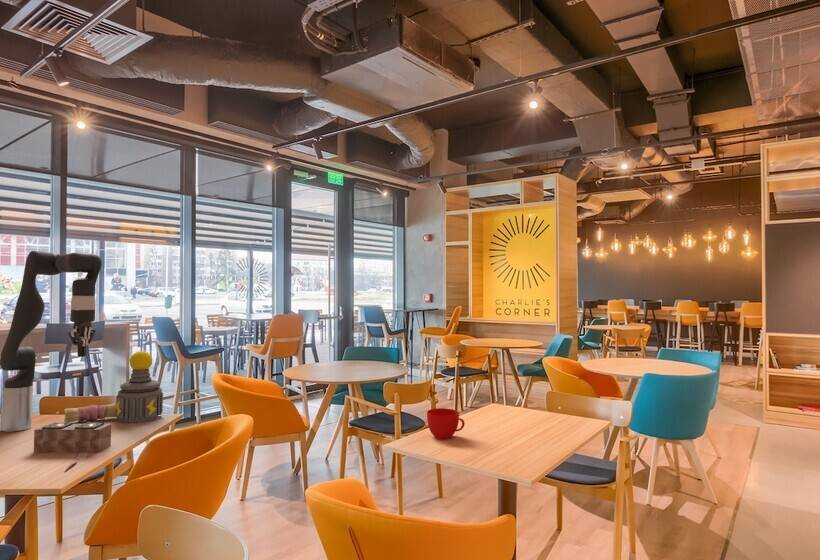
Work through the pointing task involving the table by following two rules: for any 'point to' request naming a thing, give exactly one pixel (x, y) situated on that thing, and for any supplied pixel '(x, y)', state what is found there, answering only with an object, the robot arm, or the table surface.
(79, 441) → the walnut bar
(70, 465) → the fork
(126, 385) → the decorative lamp
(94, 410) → the scroll
